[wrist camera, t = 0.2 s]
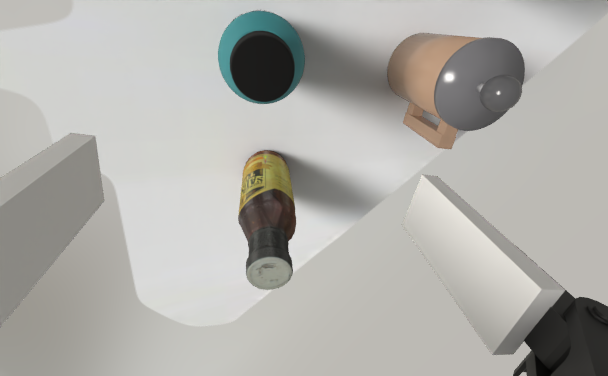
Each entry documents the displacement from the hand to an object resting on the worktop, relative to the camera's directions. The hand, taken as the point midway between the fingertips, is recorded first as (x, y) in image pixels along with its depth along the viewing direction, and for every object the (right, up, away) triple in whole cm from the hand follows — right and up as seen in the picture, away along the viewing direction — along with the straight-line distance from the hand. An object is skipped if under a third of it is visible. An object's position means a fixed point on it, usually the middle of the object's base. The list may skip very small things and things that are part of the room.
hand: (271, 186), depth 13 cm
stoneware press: (+16, +14, +27) cm, 34 cm away
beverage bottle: (-4, +17, +23) cm, 28 cm away
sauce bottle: (-4, +3, +31) cm, 31 cm away
